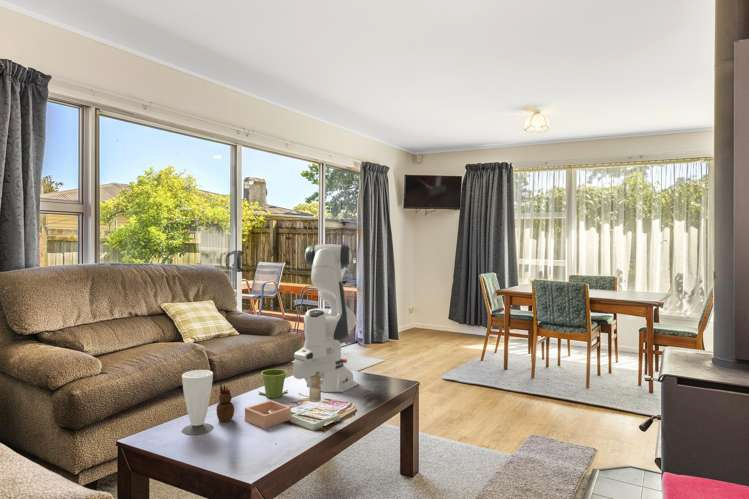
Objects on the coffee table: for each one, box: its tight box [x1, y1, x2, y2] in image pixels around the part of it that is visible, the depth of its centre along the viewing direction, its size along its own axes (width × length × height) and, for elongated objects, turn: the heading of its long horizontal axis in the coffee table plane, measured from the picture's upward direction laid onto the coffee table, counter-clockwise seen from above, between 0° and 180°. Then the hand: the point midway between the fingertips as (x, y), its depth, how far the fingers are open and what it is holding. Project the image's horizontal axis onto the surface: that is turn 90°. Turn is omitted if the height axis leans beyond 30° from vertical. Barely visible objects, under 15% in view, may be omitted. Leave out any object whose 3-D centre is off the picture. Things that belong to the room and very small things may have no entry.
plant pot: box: [260, 368, 288, 399], centre depth 231 cm, size 12×12×11 cm
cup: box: [181, 369, 214, 436], centre depth 191 cm, size 12×12×22 cm
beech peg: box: [308, 371, 322, 403], centre depth 200 cm, size 4×4×12 cm
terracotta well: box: [244, 399, 292, 429], centre depth 201 cm, size 13×13×5 cm
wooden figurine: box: [216, 383, 235, 423], centre depth 200 cm, size 7×6×15 cm
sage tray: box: [289, 406, 341, 431], centre depth 201 cm, size 14×14×2 cm
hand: (315, 385), depth 200 cm, fingers closed on beech peg, 4 cm apart
